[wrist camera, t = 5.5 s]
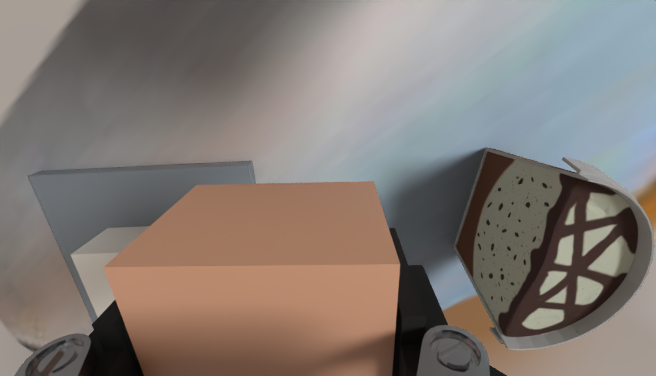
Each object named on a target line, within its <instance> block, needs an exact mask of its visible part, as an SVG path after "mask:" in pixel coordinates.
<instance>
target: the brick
mask: <svg viewBox="0 0 656 376" xmlns="http://www.w3.org/2000/svg"><path fill="white" fill-rule="evenodd" d="M103 268H104V271H105V273H106V276H107V279H108V281H109V284H110V287H111V289H112V292H113V295H114V297H115V300H116V302H117V305H118V308H119V310H120V313H121V316H122V318H123V321H124V324H125V326H126V329H127V332H128V334H129V337H130V340H131V342H132V345H133V347H134V350H135V353H136V355H137V358H138V361H139V363H140V366H141V369H142V371H143V374H144V376H392V370H393V356H394V342H395V329H396V315H397V302H398V288H399V274H400V262H399V259H398V256H397V253H396V249H395V246H394V243H393V240H392V237H391V234H390V231H389V228H388V224H387V221H386V218H385V215H384V212H383V209H382V206H381V203H380V199H379V196H378V193H377V190H376V187H375V184H374V182H322V183H270V184H218V185H196V186H195V187H194V188H193V189H192V190H190V191H189V192H188V193H187V194H186V195H185V196H184V197H182V198H181V199H180V200H179V201H178V202H177V203H176V204H174V205H173V206H172V207H171V208H170V209H169V210H168V211H167V212H165V213H164V214H163V215H162V216H161V217H160V218H159V219H157V220H156V221H155V222H154V223H153V224H152V225H151V226H149V227H148V228H147V229H146V230H145V231H144V232H143V233H142V234H140V235H139V236H138V237H137V238H136V239H135V240H134V241H132V242H131V243H130V244H129V245H128V246H127V247H126V248H124V249H123V250H122V251H121V252H120V253H119V254H118V255H117V256H115V257H114V258H113V259H112V260H111V261H110V262H109V263H107V264H106V265H105V266H104V267H103Z"/></svg>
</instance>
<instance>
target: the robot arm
mask: <svg viewBox="0 0 656 376" xmlns="http://www.w3.org/2000/svg"><path fill="white" fill-rule="evenodd" d="M389 231H390V234H391V237H392V240H393V243H394V246H395V249H396V253H397V256H398V259H399V262H400V274H399V288H398V302H397V315H396V329H395V342H394V356H393V370H392V376H507V375H505V374H503V373H502V372H500V371H498V370H496V369H495V368H493V367H492V366H490V365H489V358H488V354H487V351H486V349H485V347H484V346H483V344H482V342H481V341H479V340H478V339H477V338H476V337H475V336H474V335H473V334H471V333H470V332H468V331H466V330H464V329H461V328H459V327H456V326H450V325H448V324H447V321H446V319H445V317H444V314H443V312H442V310H441V307H440V305H439V303H438V300H437V298H436V296H435V293H434V291H433V289H432V286H431V284H430V282H429V279H428V277H427V275H426V272H425V270H424V268H423V266H421V265H410V266H408V264H407V261H406V258H405V256H404V253H403V250H402V247H401V244H400V242H399V239H398V236H397V233H396V230H395V228H389ZM92 326H93V328H94V330H93V332H92V333H91V334H90V335H89V336H87V335H85V334H71V335H67V336H64V337H61V338H58V339H56V340H54V341H52V342H50V343H48V344H46V345H44V346H43V347H41V348H40V349H38V350H37V351H35V352H34V353H33V354H32V355H31V356H30V357H29V358H27V359H26V360H25V362H24V363H23V364H22V365H21V367H20V368H19V369H18V371H17V373H16V374H15V376H144V374H143V371H142V369H141V366H140V363H139V361H138V358H137V355H136V353H135V350H134V347H133V345H132V342H131V340H130V337H129V334H128V332H127V329H126V326H125V324H124V321H123V318H122V316H121V313H120V310H119V308H118V305H117V302H116V300H114V301H113V302H112V303H111V304H110V306H109V307H108V308H107V309H106V310H105V311H104V312H103V313H102V314H101V315H100V316H99V317H98V318H97V319H96V321H95V322H94V323H93V324H92Z"/></svg>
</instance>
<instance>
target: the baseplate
mask: <svg viewBox="0 0 656 376" xmlns="http://www.w3.org/2000/svg"><path fill="white" fill-rule="evenodd" d="M28 178H29V180H30V183H31V185H32V187H33V189H34V191H35V194H36V196H37V198H38V200H39V203H40V205H41V207H42V209H43V212H44V214H45V216H46V218H47V221H48V223H49V225H50V227H51V230H52V232H53V234H54V236H55V239H56V241H57V243H58V245H59V247H60V250H61V252H62V254H63V256H64V259H65V261H66V263H67V265H68V268H69V270H70V272H71V274H72V277H73V279H74V281H75V283H76V286H77V288H78V290H79V292H80V295H81V297H82V299H83V301H84V304H85V306H86V308H87V310H88V312H89V315H90V317H91V319H92V321H93V323H94V322H95V321H96V319H97V318H98V317H99V316H100V315H101V314H102V313H103V312H104V311H105V310H106V309H107V308H108V307H109V306H110V304H111V303H112V302H113V301H114V300H115V297H114V295H113V292H112V289H111V287H110V284H109V281H108V279H107V276H106V273H105V271H104V268H103V267H104V266H105V265H106V264H107V263H109V262H110V261H111V260H112V259H113V258H114V257H115V256H117V255H118V254H119V253H120V252H121V251H122V250H123V249H124V248H126V247H127V246H128V245H129V244H130V243H131V242H132V241H134V240H135V239H136V238H137V237H138V236H139V235H140V234H142V233H143V232H144V231H145V230H146V229H147V228H148V227H149V226H151V225H152V224H153V223H154V222H155V221H156V220H157V219H159V218H160V217H161V216H162V215H163V214H164V213H165V212H167V211H168V210H169V209H170V208H171V207H172V206H173V205H174V204H176V203H177V202H178V201H179V200H180V199H181V198H182V197H184V196H185V195H186V194H187V193H188V192H189V191H190V190H192V189H193V188H194V187H195V186H196V185H218V184H256V183H255V176H254V170H253V163H252V161H239V162H218V163H198V164H177V165H157V166H136V167H116V168H95V169H75V170H54V171H40V172H37V173H34V174H31V175H29V176H28Z"/></svg>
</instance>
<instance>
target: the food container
mask: <svg viewBox="0 0 656 376" xmlns="http://www.w3.org/2000/svg"><path fill="white" fill-rule="evenodd" d="M562 160H563V161H564V162H566V163H567V164H568V165H569V166H571V167H572V168H573V169H574V170H576V171H577V173H575V172H571V171H568V170H565V169H561V168H558V167H554V166H551V165H547V164H544V163H540V162H537V161H534V160H530V159H527V158H523V157H520V156H516V155H513V154H509V153H506V152H503V151H499V150H496V149H491V148H485V151H484V154H483V157H482V160H481V163H480V166H479V169H478V172H477V175H476V179H475V182H474V185H473V188H472V191H471V194H470V197H469V200H468V203H467V206H466V209H465V212H464V215H463V218H462V221H461V224H460V227H459V230H458V233H457V236H456V240H455V243H454V246H453V248H454V250H455V252H456V254H457V255H458V257H459V259H460V261H461V263H462V265H463V267H464V269H465V271H466V273H467V275H468V276H469V278H470V280H471V282H472V284H473V286H474V288H475V290H476V292H477V294H478V296H479V297H480V299H481V301H482V303H483V305H484V307H485V309H486V311H487V313H488V315H489V316H490V318H491V320H492V322H493V324H494V326H495V328H490V329H489V330H490V331H491V332H492V333H493V335H494V336H495V337H496V338H497V340H498V341H499V342H500V343H501V344H504V345H505V346H506V348H507V349H509V350H533V349H541V348H546V347H552V346H555V345H559V344H563V343H566V342H569V341H571V340H574V339H576V338H579V337H581V336H583V335H585V334H587V333H589V332H591V331H593V330H595V329H596V328H598V327H600V326H601V325H603V324H604V323H606V322H607V321H609V320H610V319H611V318H612V317H614V316H615V315H616V314H617V313H618V312H620V311H621V310H622V309H623V308H624V307H625V306H626V305H627V304H628V303H629V302H630V301H631V300H632V298H633V297H634V296H635V294H636V293H637V292H638V290H639V289H640V287H641V286H642V284H643V282H644V280H645V278H646V276H647V275H648V272H649V269H650V266H651V263H652V260H653V252H654V233H653V229H652V226H651V223H650V220H649V218H648V216H647V215H646V213H645V211H644V210H643V208H642V207H641V206H640V205H639V203H638V202H637V200H636V199H635V198H634V197H633V196H632V195H631V194H630V193H629V192H628V190H627V189H625V188H624V187H623V186H621V185H620V184H619V183H617V182H616V181H615V180H613V179H612V178H610V177H609V176H608V175H606V174H605V173H603V172H602V171H600V170H599V169H597V168H596V167H594V166H591V165H589V164H586V163H584V162H581V161H579V160H574V159H570V158H565V157H563V159H562Z"/></svg>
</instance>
